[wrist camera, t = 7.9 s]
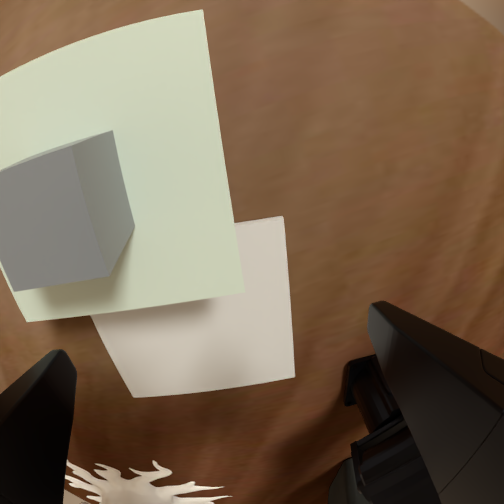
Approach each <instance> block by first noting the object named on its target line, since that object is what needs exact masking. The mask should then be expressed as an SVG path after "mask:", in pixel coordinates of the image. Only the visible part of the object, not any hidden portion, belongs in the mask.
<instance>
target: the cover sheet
mask: <svg viewBox="0 0 504 504" xmlns="http://www.w3.org/2000/svg"><path fill="white" fill-rule="evenodd" d="M0 268H1V270H2V272H3V275H4V277H5V279H6V281H7V283H8V286H9V288H10V290H11V292H12V294H13V296H14V298H15V300H16V302H17V304H18V306H19V308H20V310H21V312H22V314H23V316H24V318H25V319H26V321H27V322H32V321H42V320H51V319H60V318H69V317H77V316H86V315H94V314H102V313H110V312H117V311H125V310H132V309H140V308H147V307H154V306H161V305H168V304H175V303H181V302H188V301H195V300H201V299H207V298H214V297H220V296H226V295H232V294H238V293H244V292H245V287H244V281H243V275H242V269H241V262H240V256H239V250H238V244H237V238H236V231H235V225H234V219H233V212H232V206H231V199H230V193H229V187H228V180H227V173H226V167H225V160H224V154H223V147H222V140H221V134H220V127H219V120H218V114H217V107H216V100H215V93H214V86H213V79H212V72H211V65H210V58H209V51H208V44H207V37H206V29H205V22H204V15H203V10H197V11H191V12H185V13H179V14H174V15H169V16H164V17H160V18H155V19H151V20H147V21H143V22H139V23H135V24H131V25H128V26H124V27H120V28H117V29H114V30H110V31H107V32H104V33H101V34H98V35H95V36H92V37H89V38H86V39H83V40H81V41H78V42H75V43H72V44H70V45H67V46H65V47H62V48H60V49H57V50H55V51H53V52H50V53H48V54H46V55H43V56H41V57H39V58H37V59H34V60H32V61H30V62H28V63H26V64H24V65H22V66H20V67H18V68H16V69H14V70H12V71H10V72H8V73H6V74H4V75H2V76H1V77H0Z"/></svg>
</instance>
